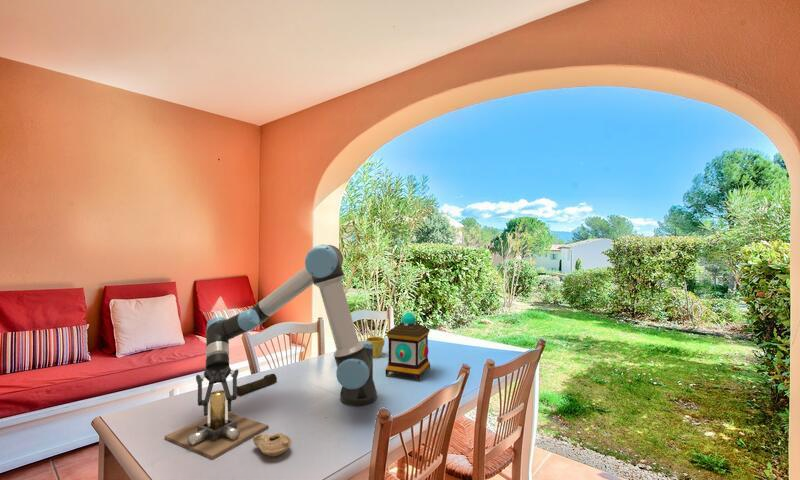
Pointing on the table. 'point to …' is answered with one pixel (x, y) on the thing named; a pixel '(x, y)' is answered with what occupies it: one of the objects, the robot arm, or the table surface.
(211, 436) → the socket housing
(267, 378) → the hand tool
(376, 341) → the plant pot
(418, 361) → the decorative lantern
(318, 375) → the table surface
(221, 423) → the cylinder
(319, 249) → the robot arm
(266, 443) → the pottery oil lamp
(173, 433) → the mounting board
